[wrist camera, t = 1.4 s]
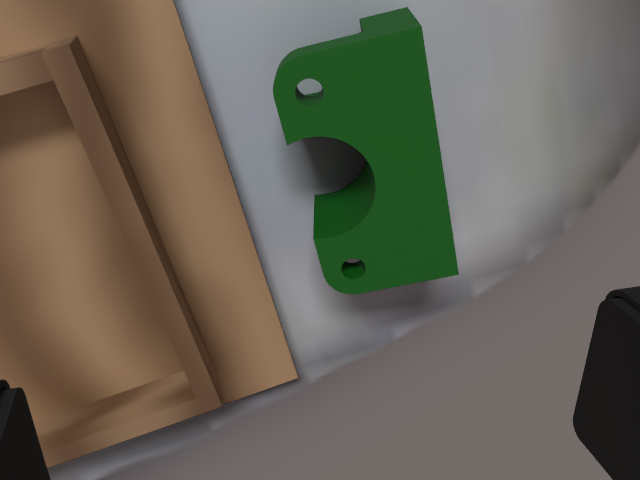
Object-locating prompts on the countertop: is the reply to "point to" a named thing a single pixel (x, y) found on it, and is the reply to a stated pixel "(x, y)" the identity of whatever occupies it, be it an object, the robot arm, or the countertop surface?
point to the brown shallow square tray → (120, 231)
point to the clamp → (374, 154)
